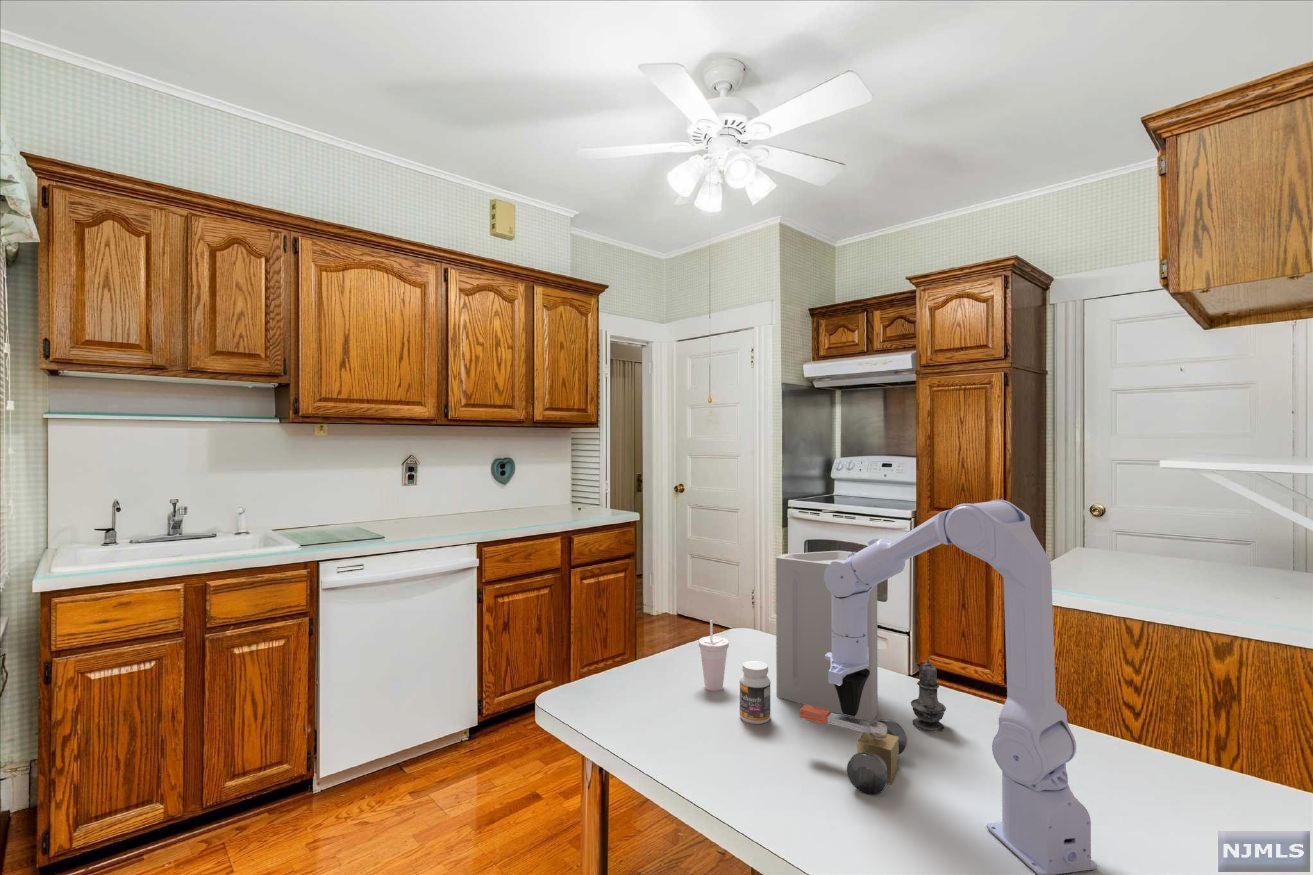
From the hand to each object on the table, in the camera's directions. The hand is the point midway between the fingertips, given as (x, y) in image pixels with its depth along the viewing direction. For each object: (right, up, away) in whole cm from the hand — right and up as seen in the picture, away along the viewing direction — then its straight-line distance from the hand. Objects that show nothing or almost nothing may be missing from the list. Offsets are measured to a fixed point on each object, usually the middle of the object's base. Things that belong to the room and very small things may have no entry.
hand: (849, 713), depth 102 cm
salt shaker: (+17, -6, +9) cm, 20 cm away
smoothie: (-20, -6, +26) cm, 34 cm away
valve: (+2, -6, -7) cm, 9 cm away
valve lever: (-2, 0, -3) cm, 4 cm away
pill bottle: (-14, -7, +12) cm, 19 cm away
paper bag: (+4, -6, +22) cm, 23 cm away
